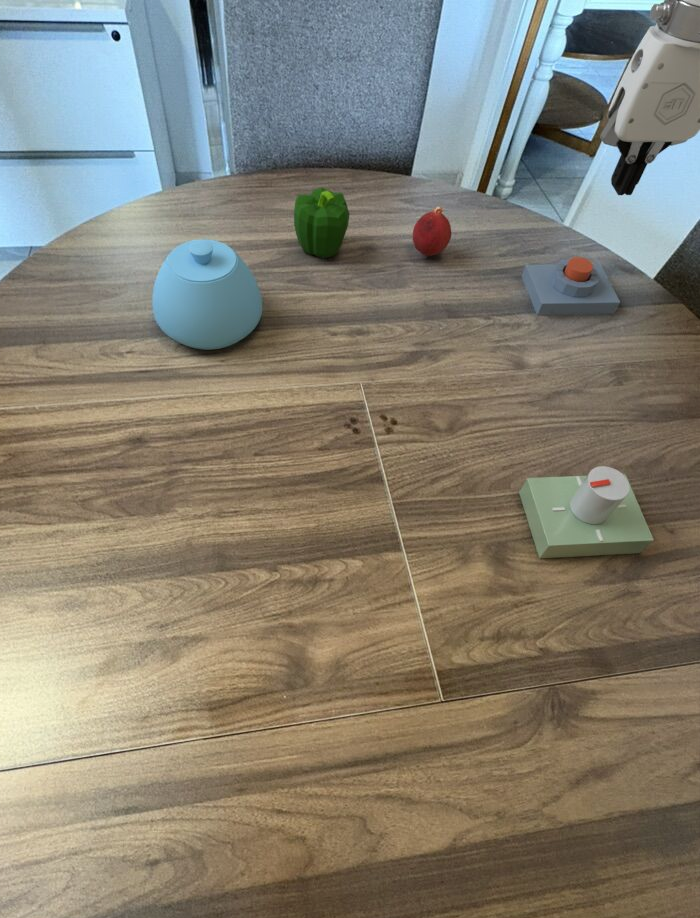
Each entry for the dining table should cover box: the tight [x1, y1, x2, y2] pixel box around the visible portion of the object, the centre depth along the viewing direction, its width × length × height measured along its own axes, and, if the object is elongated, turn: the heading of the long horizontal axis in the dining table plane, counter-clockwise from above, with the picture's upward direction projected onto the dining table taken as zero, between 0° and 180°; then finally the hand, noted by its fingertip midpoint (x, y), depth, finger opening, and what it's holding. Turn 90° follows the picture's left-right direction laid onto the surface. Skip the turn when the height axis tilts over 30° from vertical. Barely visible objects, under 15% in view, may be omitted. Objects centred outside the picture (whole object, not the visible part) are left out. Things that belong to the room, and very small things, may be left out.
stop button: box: [564, 256, 594, 282], centre depth 90 cm, size 4×4×2 cm
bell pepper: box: [293, 187, 350, 259], centre depth 93 cm, size 8×8×10 cm
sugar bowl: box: [151, 238, 264, 351], centre depth 82 cm, size 15×15×12 cm
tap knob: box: [570, 465, 631, 524], centre depth 67 cm, size 4×4×5 cm
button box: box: [521, 258, 621, 316], centre depth 92 cm, size 12×9×4 cm
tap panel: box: [518, 473, 655, 559], centre depth 70 cm, size 12×9×3 cm
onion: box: [412, 206, 453, 257], centre depth 94 cm, size 6×6×8 cm
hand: (620, 189), depth 80 cm, fingers closed
